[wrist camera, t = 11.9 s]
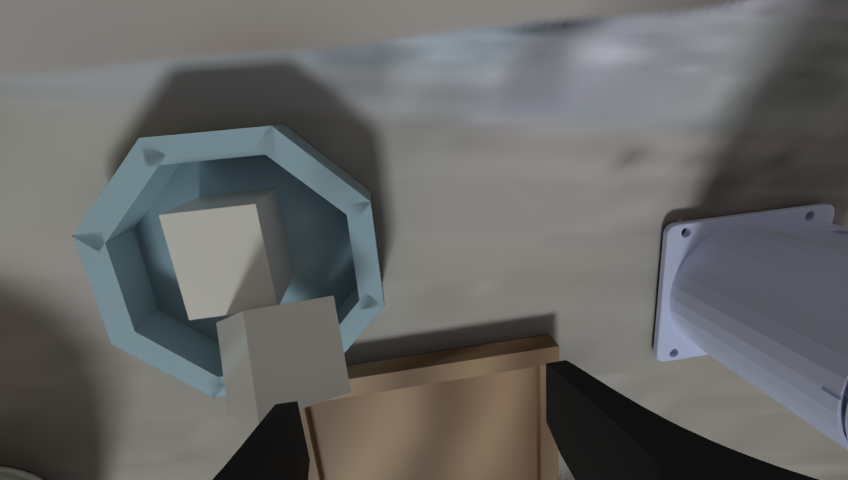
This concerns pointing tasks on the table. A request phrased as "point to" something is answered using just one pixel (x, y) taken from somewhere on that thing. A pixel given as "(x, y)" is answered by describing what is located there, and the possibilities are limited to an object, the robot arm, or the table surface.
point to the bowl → (210, 175)
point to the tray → (439, 417)
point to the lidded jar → (16, 474)
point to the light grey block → (229, 252)
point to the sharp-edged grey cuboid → (282, 357)
